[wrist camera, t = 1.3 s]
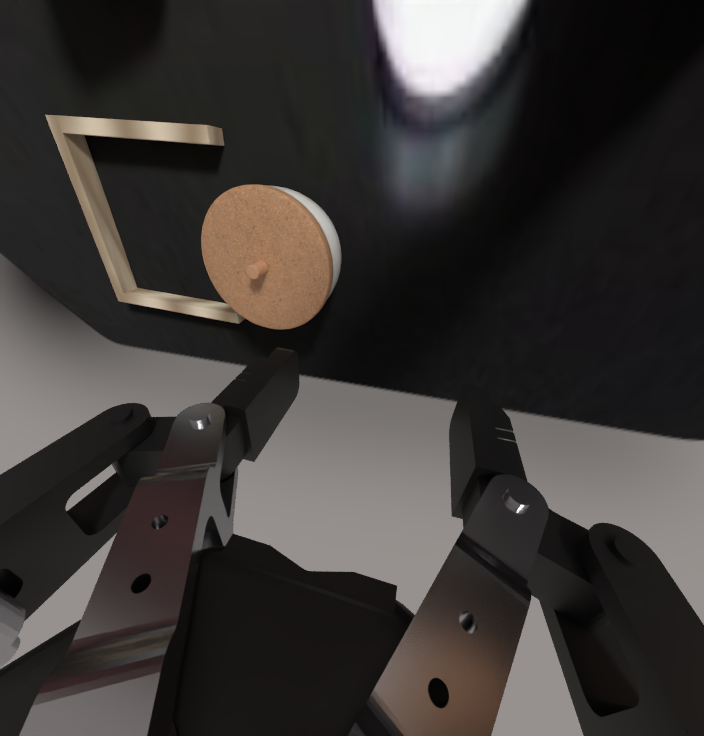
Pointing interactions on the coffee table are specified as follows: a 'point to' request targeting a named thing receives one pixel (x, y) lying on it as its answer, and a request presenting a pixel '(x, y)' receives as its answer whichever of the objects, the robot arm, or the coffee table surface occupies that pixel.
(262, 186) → the lidded jar
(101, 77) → the coffee table surface
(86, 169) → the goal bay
